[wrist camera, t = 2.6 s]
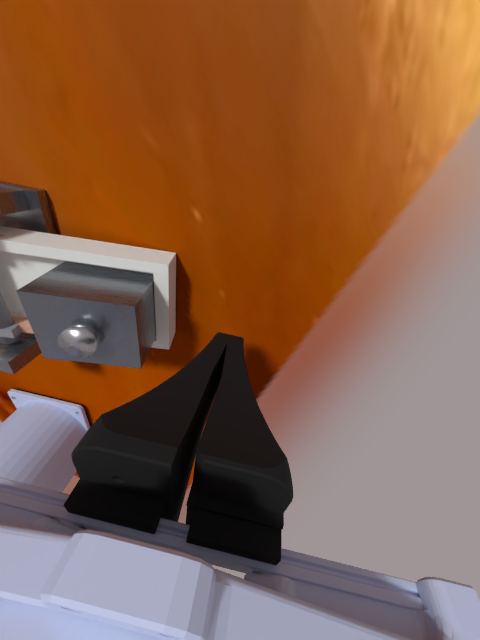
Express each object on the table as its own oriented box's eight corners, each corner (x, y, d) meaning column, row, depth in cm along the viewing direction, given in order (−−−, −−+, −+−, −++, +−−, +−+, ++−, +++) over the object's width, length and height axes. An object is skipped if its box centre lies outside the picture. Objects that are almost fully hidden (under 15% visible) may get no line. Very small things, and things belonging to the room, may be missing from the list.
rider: (159, 330, 16) (135, 379, 12) (80, 320, 16) (33, 368, 12) (156, 274, 14) (127, 316, 10) (64, 261, 13) (0, 300, 10)
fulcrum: (82, 331, 19) (26, 378, 15) (35, 320, 19) (-34, 363, 15) (45, 190, 13) (-62, 202, 9) (-22, 176, 14) (-157, 182, 9)
